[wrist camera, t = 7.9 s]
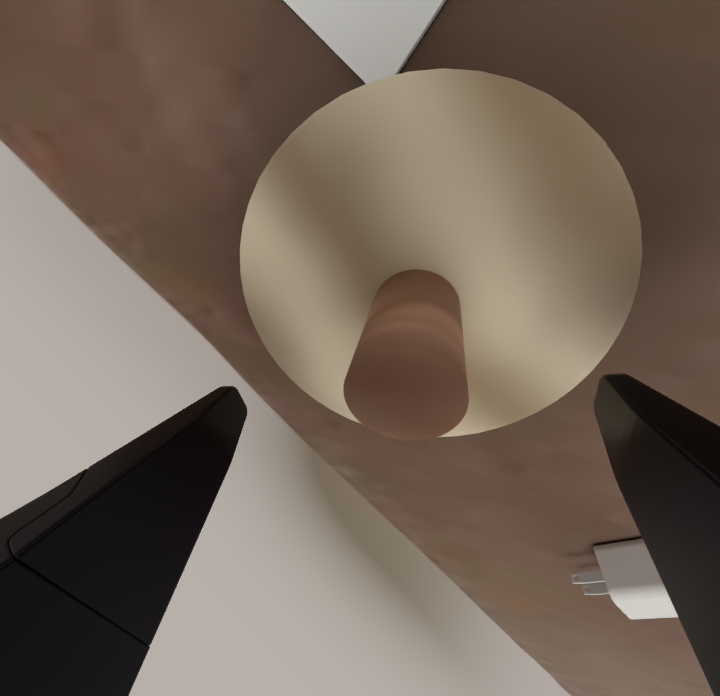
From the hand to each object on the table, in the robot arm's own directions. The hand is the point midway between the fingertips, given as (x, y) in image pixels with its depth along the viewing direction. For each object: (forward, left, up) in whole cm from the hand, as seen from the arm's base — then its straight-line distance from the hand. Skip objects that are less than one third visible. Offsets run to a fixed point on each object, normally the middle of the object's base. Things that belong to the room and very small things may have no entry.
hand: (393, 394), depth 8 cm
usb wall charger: (+7, +29, -11) cm, 32 cm away
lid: (0, 0, -5) cm, 5 cm away
